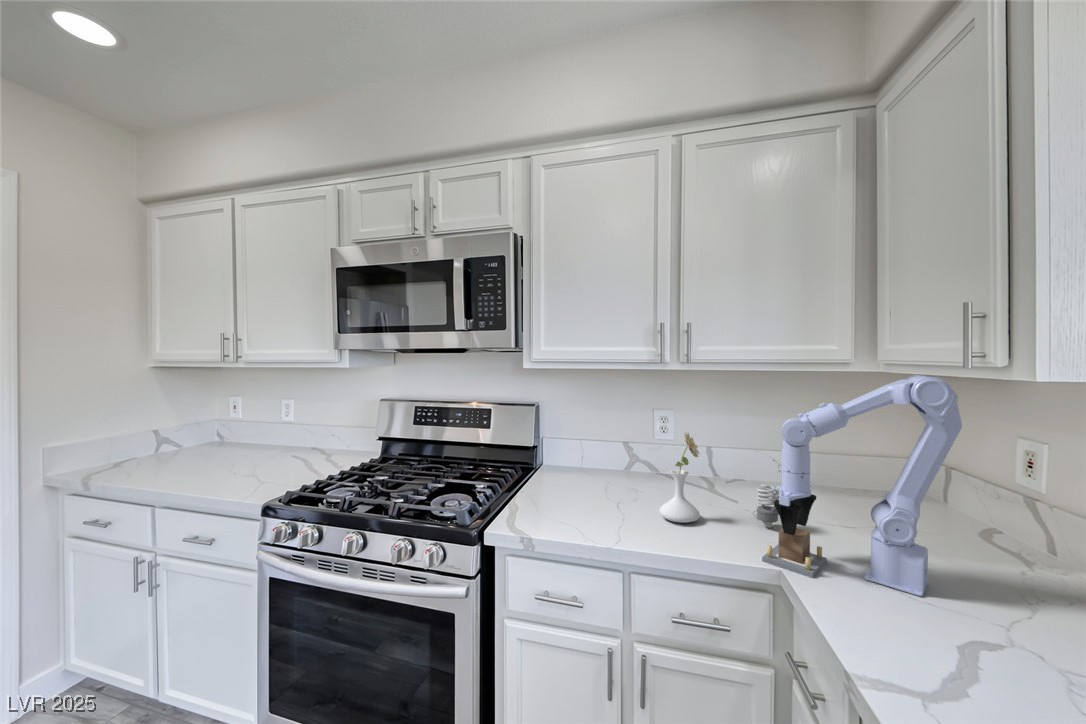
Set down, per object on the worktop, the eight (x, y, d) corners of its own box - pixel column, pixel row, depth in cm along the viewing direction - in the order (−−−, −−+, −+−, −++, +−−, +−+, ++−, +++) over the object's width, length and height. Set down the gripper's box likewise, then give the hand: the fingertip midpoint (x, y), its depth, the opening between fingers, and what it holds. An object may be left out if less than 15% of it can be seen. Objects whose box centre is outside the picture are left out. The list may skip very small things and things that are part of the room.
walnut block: (809, 557, 103) (810, 531, 103) (802, 564, 100) (802, 537, 100) (786, 550, 107) (786, 525, 107) (778, 556, 104) (778, 530, 103)
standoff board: (826, 562, 103) (827, 547, 103) (812, 577, 96) (812, 561, 96) (778, 547, 111) (779, 533, 111) (762, 561, 104) (762, 546, 104)
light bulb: (751, 525, 125) (751, 482, 124) (766, 522, 127) (767, 480, 126) (768, 533, 119) (768, 488, 119) (783, 530, 121) (784, 486, 121)
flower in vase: (685, 529, 122) (686, 438, 121) (651, 517, 131) (651, 432, 130) (710, 518, 130) (711, 433, 129) (676, 507, 139) (677, 427, 138)
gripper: (788, 462, 111) (787, 516, 111) (765, 473, 101) (764, 532, 101) (820, 467, 105) (819, 524, 106) (799, 479, 96) (798, 542, 96)
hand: (795, 529), depth 103 cm, fingers open, 7 cm apart
